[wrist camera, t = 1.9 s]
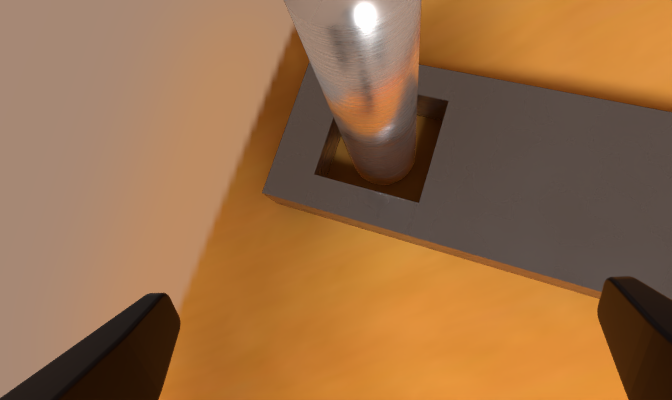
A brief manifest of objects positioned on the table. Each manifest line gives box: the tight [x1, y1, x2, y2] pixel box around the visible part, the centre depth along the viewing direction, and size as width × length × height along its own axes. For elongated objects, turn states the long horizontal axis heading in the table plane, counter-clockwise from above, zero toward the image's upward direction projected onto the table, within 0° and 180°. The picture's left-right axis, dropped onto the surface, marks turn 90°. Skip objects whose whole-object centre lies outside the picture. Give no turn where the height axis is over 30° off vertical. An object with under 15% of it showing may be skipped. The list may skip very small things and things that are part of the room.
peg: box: [284, 0, 421, 185], centre depth 17 cm, size 4×4×14 cm
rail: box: [262, 62, 672, 300], centre depth 19 cm, size 33×9×3 cm, turn 72°
